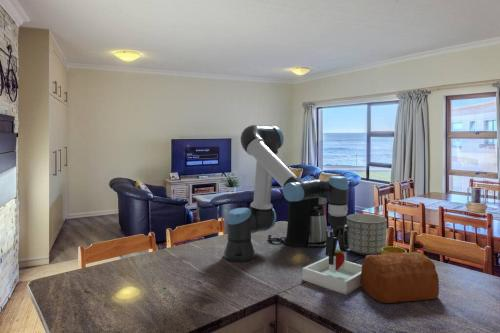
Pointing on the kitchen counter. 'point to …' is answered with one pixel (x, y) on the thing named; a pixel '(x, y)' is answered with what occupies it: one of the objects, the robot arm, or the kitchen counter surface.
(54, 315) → the kitchen counter surface
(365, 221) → the planter
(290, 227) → the coffee maker
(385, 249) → the plant pot
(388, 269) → the bread
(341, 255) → the strawberry
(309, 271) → the serving bin
